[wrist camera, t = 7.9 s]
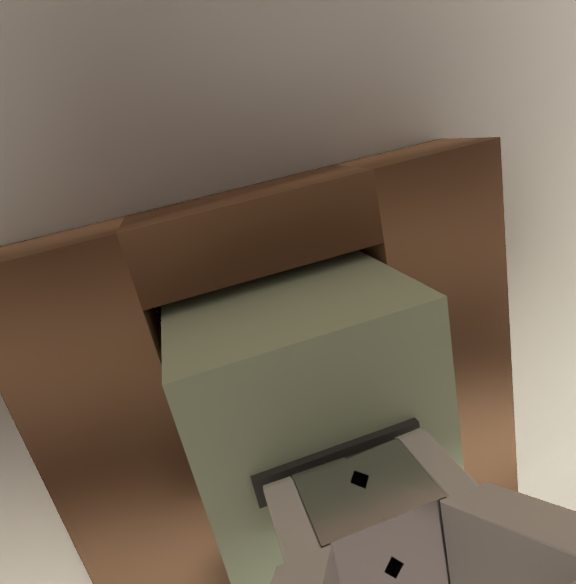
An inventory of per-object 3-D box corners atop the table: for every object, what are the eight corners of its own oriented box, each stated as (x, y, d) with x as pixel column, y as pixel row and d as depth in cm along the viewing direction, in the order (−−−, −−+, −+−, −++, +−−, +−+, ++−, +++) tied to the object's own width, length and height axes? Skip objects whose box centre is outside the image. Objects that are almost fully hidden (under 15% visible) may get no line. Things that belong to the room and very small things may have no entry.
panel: (-12, 249, 11) (-56, 276, 9) (440, 139, 13) (500, 137, 11) (228, 793, 19) (238, 883, 17) (489, 669, 21) (529, 734, 19)
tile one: (160, 304, 11) (162, 389, 7) (357, 249, 12) (452, 299, 8) (215, 473, 13) (240, 614, 9) (384, 414, 14) (472, 519, 10)
